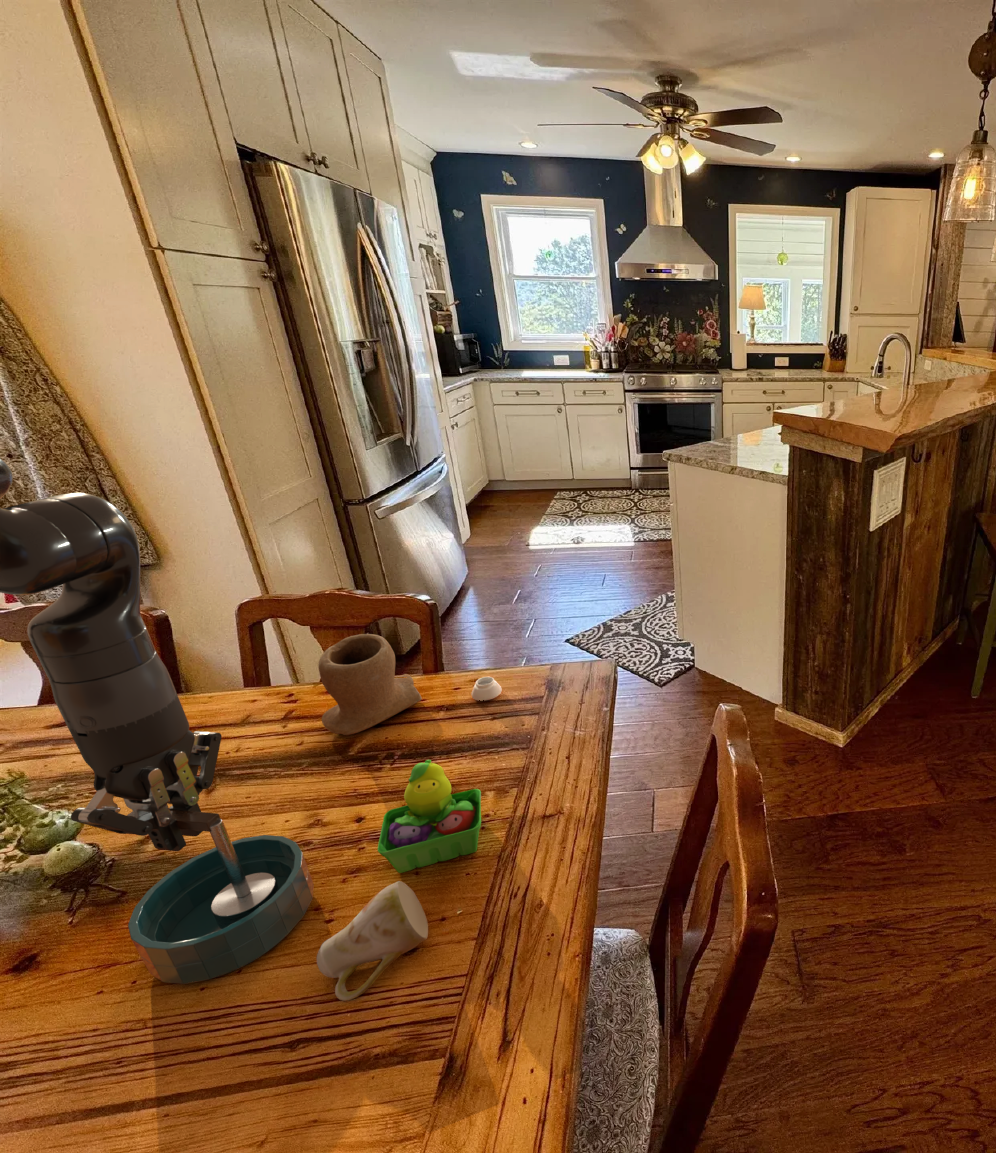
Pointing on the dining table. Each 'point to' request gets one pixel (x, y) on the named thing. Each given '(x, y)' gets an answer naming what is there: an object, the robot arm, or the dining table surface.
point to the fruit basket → (430, 821)
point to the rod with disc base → (228, 871)
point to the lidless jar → (486, 689)
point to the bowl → (188, 927)
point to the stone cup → (363, 684)
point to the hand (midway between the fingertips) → (183, 840)
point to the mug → (374, 937)
